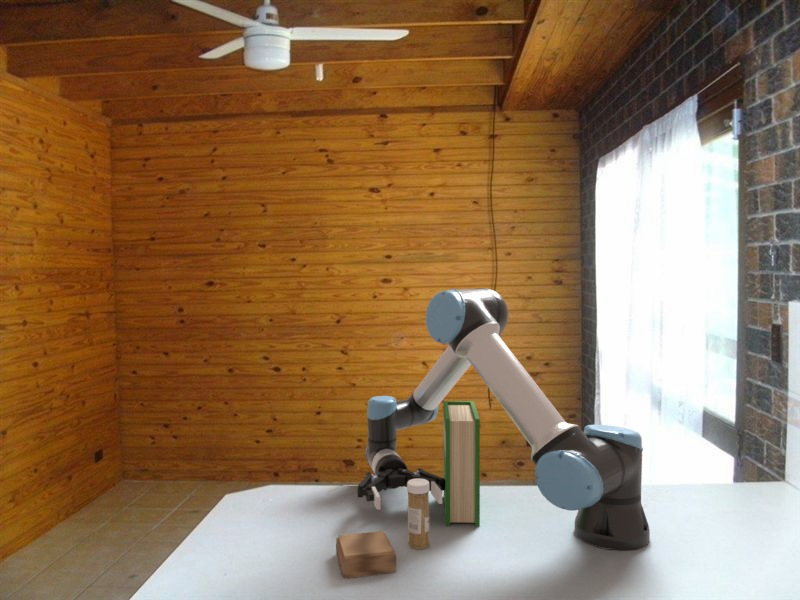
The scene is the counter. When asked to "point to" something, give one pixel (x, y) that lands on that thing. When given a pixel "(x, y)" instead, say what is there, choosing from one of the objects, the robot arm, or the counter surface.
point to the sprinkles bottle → (418, 513)
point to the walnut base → (365, 554)
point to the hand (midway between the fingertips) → (410, 500)
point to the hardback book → (461, 462)
